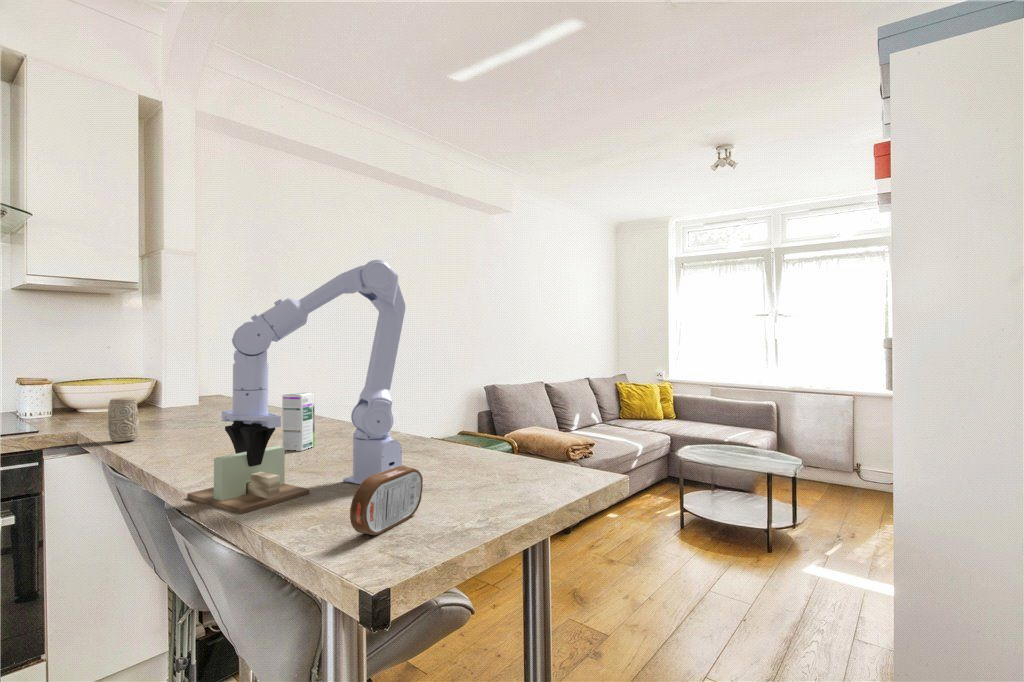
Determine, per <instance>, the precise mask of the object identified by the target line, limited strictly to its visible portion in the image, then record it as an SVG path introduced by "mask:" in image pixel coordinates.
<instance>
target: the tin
mask: <svg viewBox="0 0 1024 682" xmlns="http://www.w3.org/2000/svg"><path fill="white" fill-rule="evenodd" d="M423 482H424V480H423V475H422V473H421V471H419V470H418V469H416V468H413V467H410V466H406V465H403V464H402V465H401V466H398V467H395V468H392V469H389V470H386V471H383V472H380V473H377V474H374V475H371V476H369V477H367V478H366V479H365V480H364V481H363V482H362V483H361V484H359V486H358V487H357V489H356V490H355V492H354V495H353V497H352V501H351V505H350V509H349V518H350V524H351V526H352V528H353V529H354V531H356V532H357V533H360V534H365V535H370V536H377V535H380V534H382V533H384V532H386V531H388V530H390V529H392V528H394V527H396V526H398V525H399V524H402V523H404V522H405V521H407V519H408V520H409V519H411V518H412V517H413V516H414V515H415V513H416V512H417V511H418V509H419V506H420V504H421V502H422V494H423Z"/></svg>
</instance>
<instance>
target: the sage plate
mask: <svg viewBox="0 0 1024 682" xmlns="http://www.w3.org/2000/svg"><path fill="white" fill-rule="evenodd" d="M285 452H286V450H285V447H283V446H279V445H275V446H269V447H266V449H265V452H264V456H263V460H262V463H261V465H256V466H252V467H250V466H249V465H248V461H247V452H242V453H237V454H236V453H234V454H229V455H223V456H218V457H214V458H213V487H214V499H217V500H220V501H224V500H227V499H231V498H235V497H238V496H242V495H246V483H248V482H251V474H254V473H258V472H265V473H270V474H275V475H279V476H280V484H279V485H282V484H284V483H285V469H286V468H285V467H286V466H285V461H286V459H285V457H286V456H285V455H286V453H285Z"/></svg>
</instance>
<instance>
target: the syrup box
mask: <svg viewBox="0 0 1024 682" xmlns="http://www.w3.org/2000/svg"><path fill="white" fill-rule="evenodd" d="M281 401H282V402H281V404H282V405H281V407H282V412H281V413H282V415H281V426H282V447H285V451H287V450H296V451H295V452H303V451H306V450H309V449H312V448H314V447H316V443H315V441H316V437H315V433H316V432H315V425H316V424H315V421H316V420H315V418H316V417H315V415H316V414H315V392H308V391H307V392H306V391H302V392H293V393H287V394H283V395H282V396H281ZM311 447H312V448H311ZM308 448H309V449H308Z"/></svg>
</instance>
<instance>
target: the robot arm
mask: <svg viewBox="0 0 1024 682" xmlns="http://www.w3.org/2000/svg"><path fill="white" fill-rule="evenodd" d="M355 293H358V294H360V295H362V296H363V297H365V298H366V299H368V300H369V301H370V302H371V304H372V305H373V306H374V307H375V309H376V310H377V312H378V316H377V321H376V327H375V331H374V337H373V342H372V347H371V352H370V358H369V363H368V369H367V372H366V378H365V382H364V383H365V384H364V387H363V388H362V389H361V390H362V391H361V392H360V394H359V398H358V402H357V403H356V405H355V406H354V407H353V409H352V411H351V415H350V419H351V422H352V423H351V424H352V425H353V427H355V428H356V429H355V431H354V433H352V436H353V437H352V475H351V476H347V477H344V478H343V479H342V481H343V482H346V483H351V484H355V485H360V484H361V483H362V482H363V481H364V480H365V479H366V478H367V477H369V476H371V475H374V474H377V473H380V472H383V471H386V470H389V469H392V468H395V467H398V466H401V465H403V464H402V463H403V449H402V444H401V443H400V442H399V440H397V439H394V438H393V437H392V436H391V432H390V431H391V429H392V428H393V425H394V415H393V413H392V406H393V399H392V394H391V387H392V386H391V385H392V381H393V376H394V371H395V365H396V359H397V354H398V351H399V350H398V349H399V344H400V340H401V335H402V334H401V333H402V329H403V323H404V318H405V313H406V303H405V300H404V297H403V292H402V291H401V287H400V284H399V275H398V274H397V273H396V271H395V270H394V269H393V268H392V267H391V265H390V264H388V263H387V262H386V261H384V260H383V259H373V260H370V261H368V262H367V263H365V264H364V265H359V266H356V267H355V268H354V267H353V268H352V269H349V270H346V271H344V272H341V273H340V274H338V275H336V276H335V277H333V278H331V279H330V280H328V281H326V282H325V283H323V284H322V285H321V286H319V287H318V288H316V289H314V290H312V291H311V292H310V293H308V294H306V295H305V296H303V297H302V298H300V299H293V298H285V299H284V300H282V298H279V299H277V300H276V301H274V306H273V307H271V308H269V309H267V310H265V311H264V312H262V313H261V314H259V315H257V314H254V315H252V316H251V317H250V319H251V321H246V322H244V323H243V324H242V325H240V326H238V327H237V329H236V330H235V331H234V333H233V335H232V338H231V342H232V345H233V348H234V349H235V350H234V353H233V361H234V363H233V364H232V409H229V410H228V409H227V410H222V411H221V422H230V423H231V422H232V424H231V425H226V426H224V431H225V432H226V433H227V435H228V437H229V438H230V440H231V443H232V446H233V448H234V452H235V453H234V454H237V453H242V452H247V461H248V465H249V466H250V467H252V466H256V465H261V463H262V460H263V456H264V452H265V449H266V448H267V446H268V443H269V442H270V439H271V438H272V435H273V433H274V432H275V431H276V428H281V426H282V415H279V414H274V413H271V412H269V363H268V349H269V348H270V346H271V345H272V344H271V343H272V342H275V343H277V342H279V341H280V340H281V341H282V339H284V338H286V337H287V336H289V335H290V334H292V333H294V332H296V331H297V330H298V329H300V328H302V327H303V326H305V325H306V324H307V322H308V317H309V315H310V313H312V312H314V311H316V310H317V309H319V308H321V307H323V306H325V305H326V304H327V303H330V302H331V301H332V300H334V299H337V298H338V297H340V296H341V295H345V294H346V295H347V294H355Z"/></svg>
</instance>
